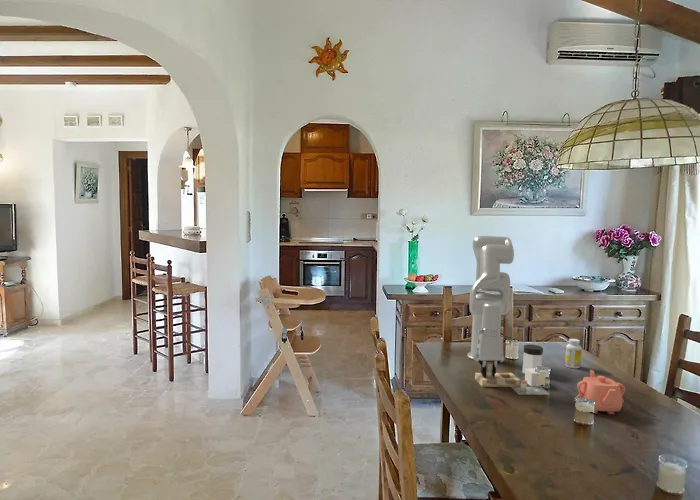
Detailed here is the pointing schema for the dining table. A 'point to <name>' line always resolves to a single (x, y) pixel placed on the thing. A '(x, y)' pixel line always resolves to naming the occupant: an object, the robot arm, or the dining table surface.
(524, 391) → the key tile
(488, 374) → the peg
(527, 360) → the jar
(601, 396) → the teapot
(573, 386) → the dining table surface
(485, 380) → the peg board
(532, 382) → the white cube
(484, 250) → the robot arm
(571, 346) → the supplement bottle
